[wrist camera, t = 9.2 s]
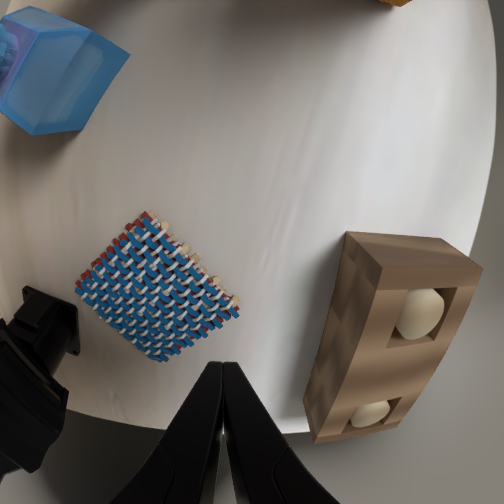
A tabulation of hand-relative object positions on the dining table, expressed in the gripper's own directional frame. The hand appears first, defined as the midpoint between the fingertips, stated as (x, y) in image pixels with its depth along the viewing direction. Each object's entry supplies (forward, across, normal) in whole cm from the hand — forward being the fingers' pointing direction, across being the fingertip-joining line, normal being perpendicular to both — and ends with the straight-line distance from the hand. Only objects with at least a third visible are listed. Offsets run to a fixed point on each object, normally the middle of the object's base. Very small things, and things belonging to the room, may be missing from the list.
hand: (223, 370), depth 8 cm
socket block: (+13, -14, +10) cm, 21 cm away
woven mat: (+14, +6, +6) cm, 16 cm away
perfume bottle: (+13, +12, -11) cm, 21 cm away
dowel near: (+13, -14, +4) cm, 19 cm away
